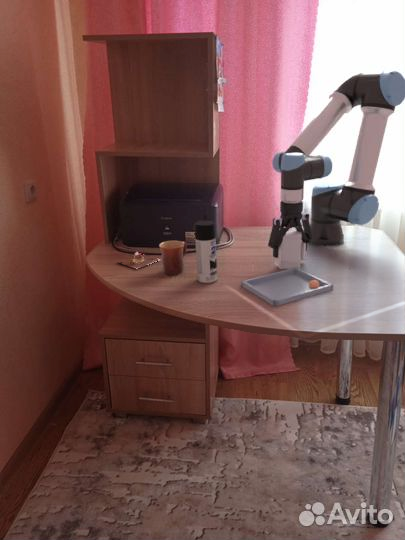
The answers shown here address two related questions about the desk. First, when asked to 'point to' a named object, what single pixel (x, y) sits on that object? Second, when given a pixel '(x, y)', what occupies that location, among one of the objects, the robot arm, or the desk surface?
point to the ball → (313, 284)
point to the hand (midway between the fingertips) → (289, 262)
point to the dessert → (140, 258)
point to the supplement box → (291, 250)
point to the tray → (285, 286)
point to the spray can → (206, 251)
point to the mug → (173, 256)
